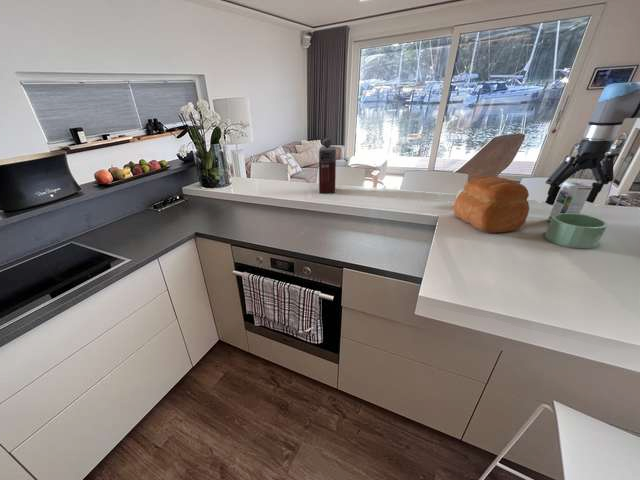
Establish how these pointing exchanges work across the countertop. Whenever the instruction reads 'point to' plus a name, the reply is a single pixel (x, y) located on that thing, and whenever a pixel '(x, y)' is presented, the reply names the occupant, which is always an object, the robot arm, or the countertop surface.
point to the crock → (575, 230)
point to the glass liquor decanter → (327, 167)
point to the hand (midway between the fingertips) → (568, 202)
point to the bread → (493, 204)
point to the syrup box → (571, 198)
